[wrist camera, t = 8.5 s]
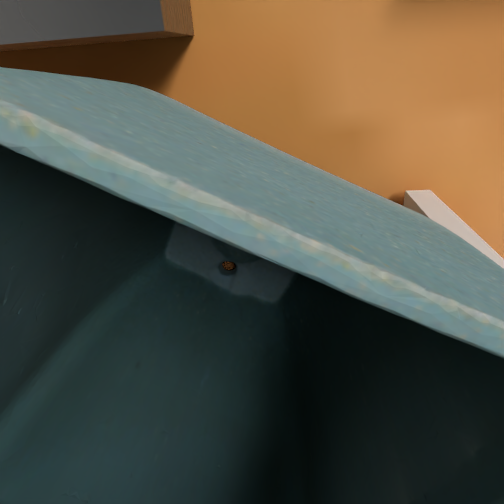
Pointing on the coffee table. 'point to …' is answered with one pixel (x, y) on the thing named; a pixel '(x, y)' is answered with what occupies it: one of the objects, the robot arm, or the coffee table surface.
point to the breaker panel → (90, 22)
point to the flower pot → (227, 318)
